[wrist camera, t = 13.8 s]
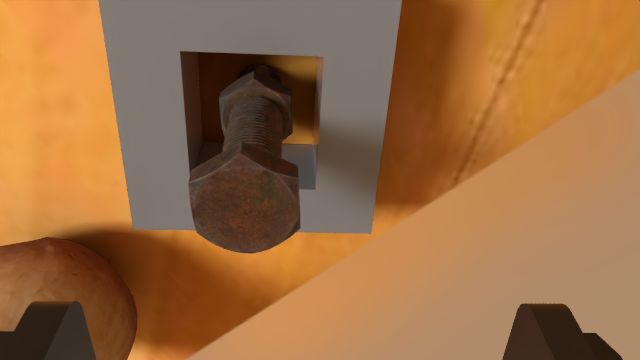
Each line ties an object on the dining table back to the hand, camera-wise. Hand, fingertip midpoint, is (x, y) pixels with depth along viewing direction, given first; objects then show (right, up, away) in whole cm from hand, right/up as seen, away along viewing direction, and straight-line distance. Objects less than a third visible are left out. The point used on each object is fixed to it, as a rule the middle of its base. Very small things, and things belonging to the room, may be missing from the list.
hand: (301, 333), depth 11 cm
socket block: (-4, +9, +28) cm, 30 cm away
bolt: (-4, +10, +29) cm, 30 cm away
